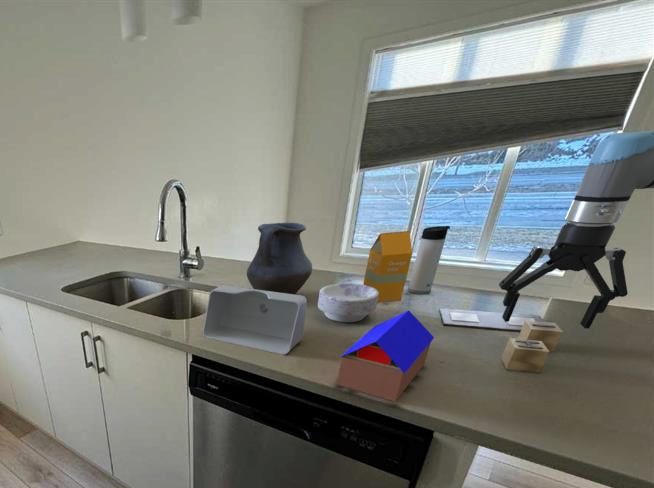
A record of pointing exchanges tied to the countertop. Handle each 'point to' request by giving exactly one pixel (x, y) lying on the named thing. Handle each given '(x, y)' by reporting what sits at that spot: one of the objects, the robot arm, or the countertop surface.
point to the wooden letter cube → (524, 355)
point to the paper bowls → (347, 301)
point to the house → (386, 357)
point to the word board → (485, 320)
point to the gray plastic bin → (255, 318)
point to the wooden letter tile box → (542, 333)
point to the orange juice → (389, 265)
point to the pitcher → (280, 259)
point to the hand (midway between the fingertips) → (543, 322)
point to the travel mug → (427, 259)
